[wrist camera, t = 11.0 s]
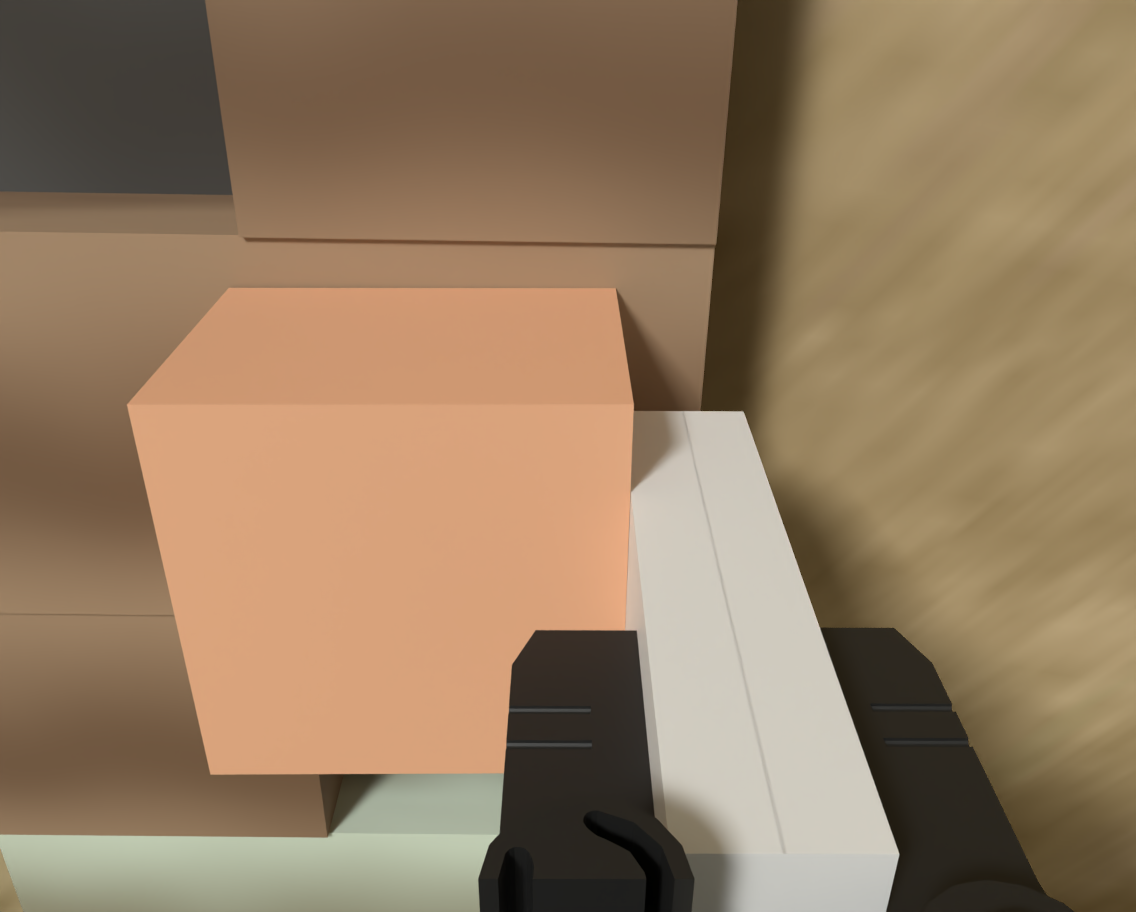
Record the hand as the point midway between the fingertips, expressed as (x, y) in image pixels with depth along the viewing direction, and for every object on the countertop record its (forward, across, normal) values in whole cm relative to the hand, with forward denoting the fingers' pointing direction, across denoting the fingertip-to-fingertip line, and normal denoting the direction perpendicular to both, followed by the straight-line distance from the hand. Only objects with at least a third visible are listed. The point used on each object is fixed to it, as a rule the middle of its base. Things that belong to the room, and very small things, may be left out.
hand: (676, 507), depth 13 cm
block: (+2, -3, 0) cm, 4 cm away
